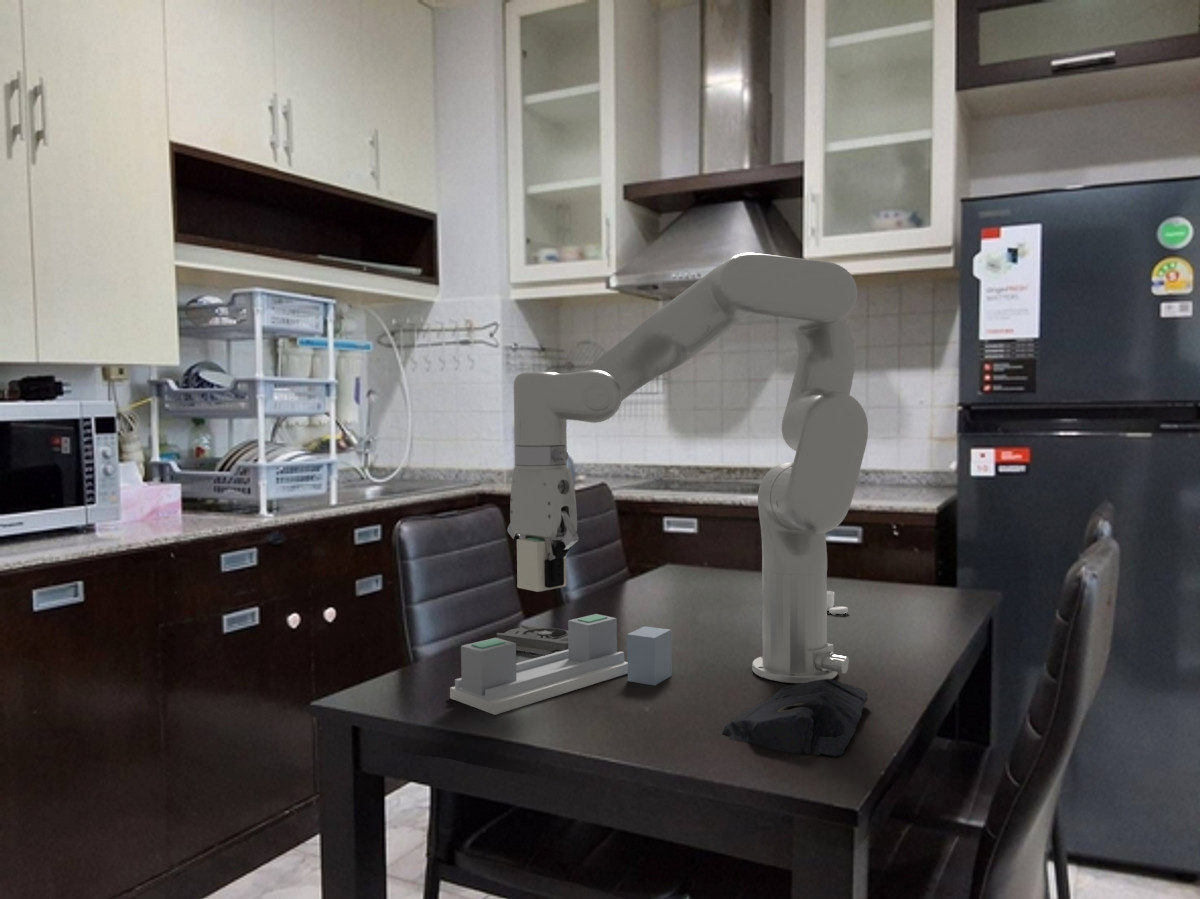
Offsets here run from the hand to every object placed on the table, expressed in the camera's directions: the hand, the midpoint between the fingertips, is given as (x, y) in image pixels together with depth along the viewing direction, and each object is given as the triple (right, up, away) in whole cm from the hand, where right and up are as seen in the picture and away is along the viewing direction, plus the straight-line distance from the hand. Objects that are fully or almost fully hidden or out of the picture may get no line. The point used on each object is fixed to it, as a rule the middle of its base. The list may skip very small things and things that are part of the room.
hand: (542, 582), depth 132 cm
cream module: (0, -1, 0) cm, 1 cm away
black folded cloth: (+34, -16, -16) cm, 41 cm away
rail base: (0, -15, +1) cm, 15 cm away
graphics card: (0, -15, +22) cm, 26 cm away
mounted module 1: (-7, -14, -6) cm, 16 cm away
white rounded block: (+51, -13, +44) cm, 69 cm away
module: (+16, -15, +3) cm, 22 cm away
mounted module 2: (+7, -13, +8) cm, 17 cm away
